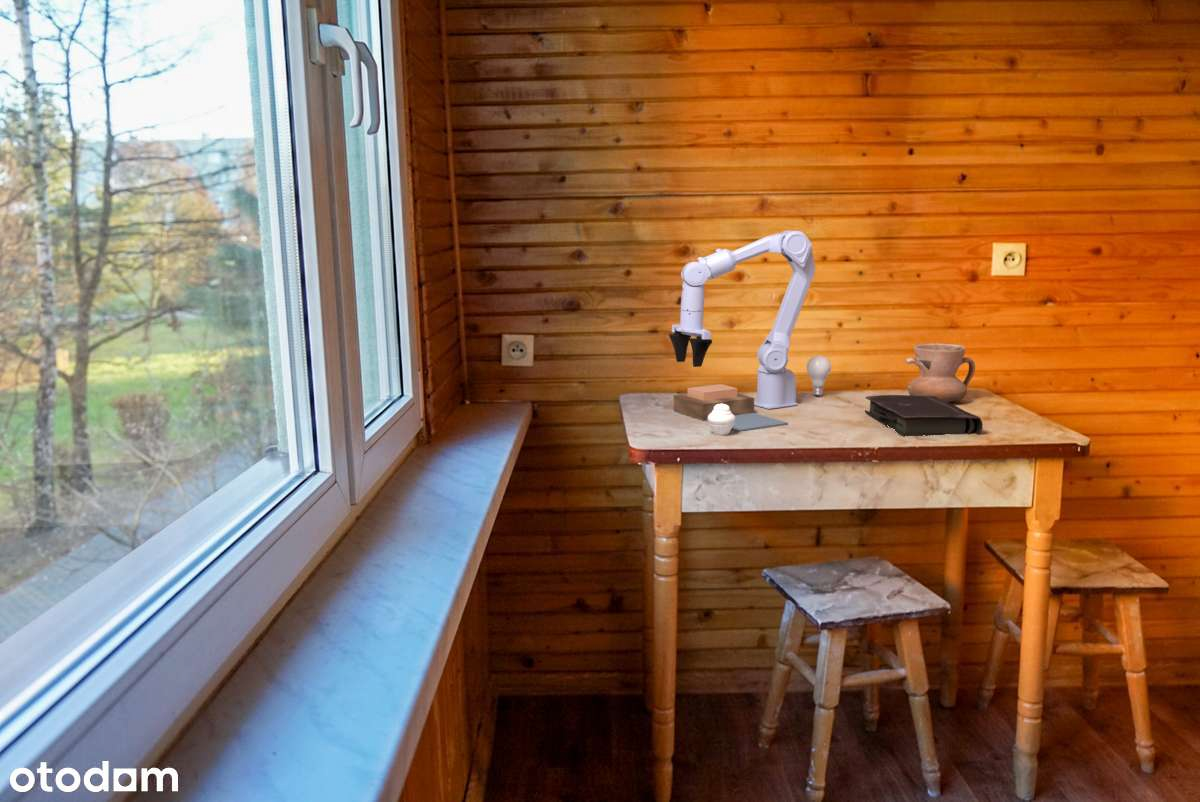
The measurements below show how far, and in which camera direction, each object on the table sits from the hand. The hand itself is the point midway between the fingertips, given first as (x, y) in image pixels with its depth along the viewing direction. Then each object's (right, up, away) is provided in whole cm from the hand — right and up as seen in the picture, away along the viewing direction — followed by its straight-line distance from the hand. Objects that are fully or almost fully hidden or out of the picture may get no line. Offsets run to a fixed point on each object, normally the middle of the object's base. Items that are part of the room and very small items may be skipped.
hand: (688, 364), depth 236 cm
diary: (+51, -15, -20) cm, 57 cm away
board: (+6, -12, -5) cm, 14 cm away
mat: (+12, -14, -17) cm, 25 cm away
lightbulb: (+36, -8, +13) cm, 39 cm away
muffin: (+5, -17, -28) cm, 33 cm away
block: (+5, -8, -6) cm, 11 cm away
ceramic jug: (+65, -10, +5) cm, 66 cm away
